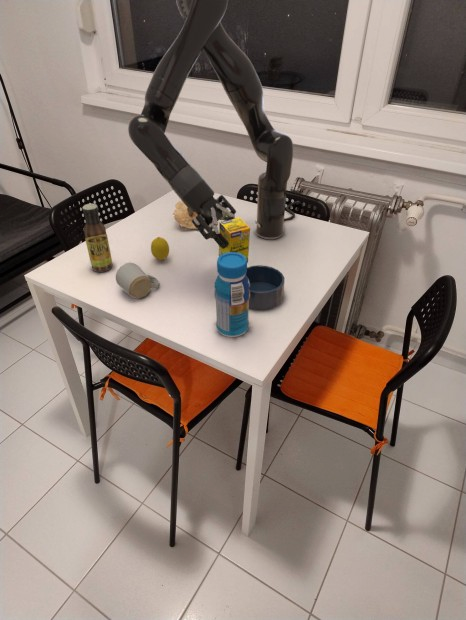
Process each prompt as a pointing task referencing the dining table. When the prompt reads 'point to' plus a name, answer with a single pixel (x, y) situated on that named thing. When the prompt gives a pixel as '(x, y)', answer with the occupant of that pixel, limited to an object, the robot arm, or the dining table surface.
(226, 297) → the beverage bottle
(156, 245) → the lemon
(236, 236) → the supplement box
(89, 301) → the dining table surface
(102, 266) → the sauce bottle
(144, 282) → the ceramic mug
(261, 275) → the dark blue bowl
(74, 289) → the dining table surface
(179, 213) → the tan lumpy rounded piece
